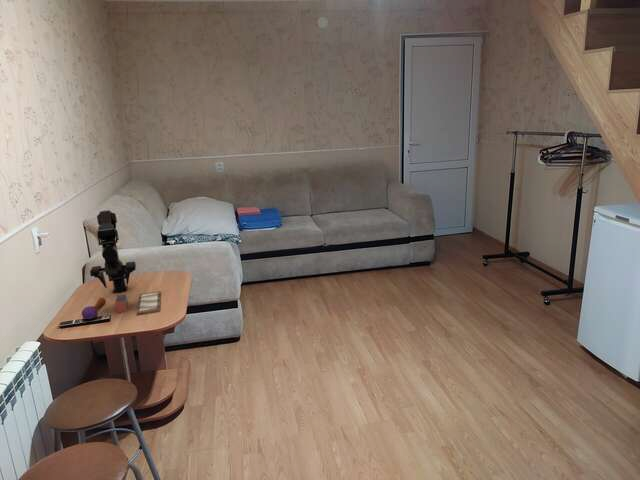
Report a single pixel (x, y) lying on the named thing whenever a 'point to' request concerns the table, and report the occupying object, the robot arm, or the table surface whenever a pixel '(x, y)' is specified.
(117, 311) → the red and gray block
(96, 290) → the table surface
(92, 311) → the purple maraca
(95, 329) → the table surface
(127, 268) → the robot arm
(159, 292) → the board
